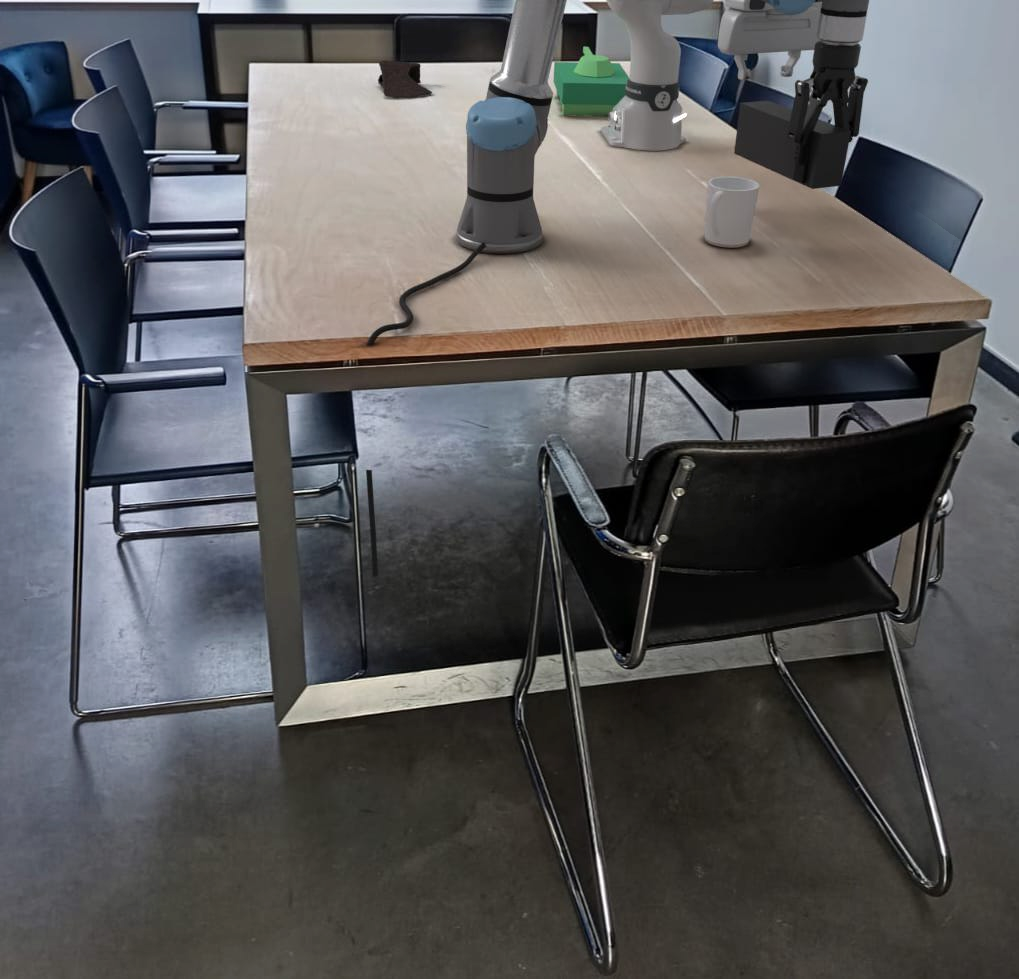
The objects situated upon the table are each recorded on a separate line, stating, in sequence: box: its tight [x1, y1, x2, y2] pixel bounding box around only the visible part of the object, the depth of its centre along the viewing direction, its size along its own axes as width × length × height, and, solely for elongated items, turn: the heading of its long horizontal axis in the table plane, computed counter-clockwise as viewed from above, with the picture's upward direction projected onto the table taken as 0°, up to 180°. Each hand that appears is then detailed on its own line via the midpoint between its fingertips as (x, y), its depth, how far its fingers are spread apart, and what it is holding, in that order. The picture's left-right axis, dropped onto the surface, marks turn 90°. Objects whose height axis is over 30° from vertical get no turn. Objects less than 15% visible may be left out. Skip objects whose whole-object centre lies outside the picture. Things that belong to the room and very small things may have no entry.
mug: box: [703, 176, 760, 249], centre depth 194 cm, size 11×9×10 cm
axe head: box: [377, 59, 433, 99], centre depth 299 cm, size 18×8×15 cm
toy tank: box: [553, 46, 630, 117], centre depth 288 cm, size 18×12×35 cm
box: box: [733, 100, 851, 190], centre depth 200 cm, size 25×6×10 cm, turn 23°
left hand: (815, 179), depth 195 cm, fingers closed on box, 6 cm apart
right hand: (764, 77), depth 203 cm, fingers open, 8 cm apart
